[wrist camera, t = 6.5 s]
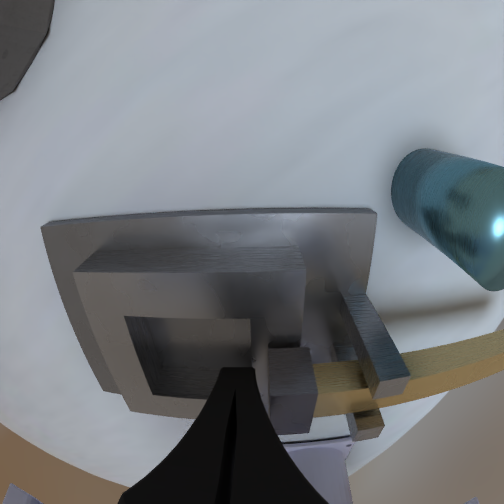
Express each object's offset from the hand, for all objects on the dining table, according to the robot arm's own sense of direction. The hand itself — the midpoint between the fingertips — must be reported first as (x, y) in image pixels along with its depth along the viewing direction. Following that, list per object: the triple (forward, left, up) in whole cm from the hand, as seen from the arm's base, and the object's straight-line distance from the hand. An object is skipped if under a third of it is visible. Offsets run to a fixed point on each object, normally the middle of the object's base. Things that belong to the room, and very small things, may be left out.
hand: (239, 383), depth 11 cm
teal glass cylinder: (+7, -9, -4) cm, 12 cm away
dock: (0, +2, -4) cm, 5 cm away
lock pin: (0, -9, -1) cm, 9 cm away
